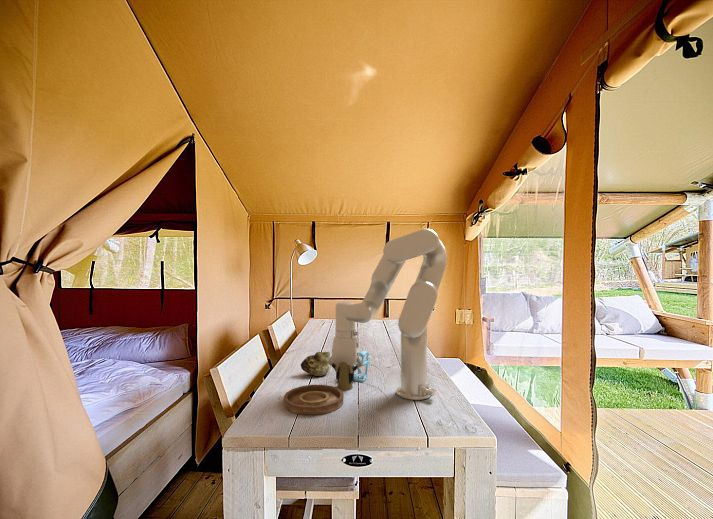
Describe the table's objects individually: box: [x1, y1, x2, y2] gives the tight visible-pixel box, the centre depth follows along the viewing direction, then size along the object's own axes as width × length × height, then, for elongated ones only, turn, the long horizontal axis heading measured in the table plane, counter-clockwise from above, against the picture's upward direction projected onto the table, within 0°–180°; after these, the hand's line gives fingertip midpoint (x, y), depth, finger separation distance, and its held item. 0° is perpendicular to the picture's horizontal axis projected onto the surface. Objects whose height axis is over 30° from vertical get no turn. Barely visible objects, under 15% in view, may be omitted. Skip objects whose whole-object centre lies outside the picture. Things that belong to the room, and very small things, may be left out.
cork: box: [336, 362, 354, 392], centre depth 128 cm, size 6×6×11 cm
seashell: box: [300, 351, 332, 377], centre depth 143 cm, size 11×11×10 cm
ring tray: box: [283, 384, 344, 416], centre depth 114 cm, size 20×20×2 cm
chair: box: [353, 350, 371, 383], centre depth 139 cm, size 8×8×12 cm
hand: (345, 381), depth 128 cm, fingers closed on cork, 4 cm apart
